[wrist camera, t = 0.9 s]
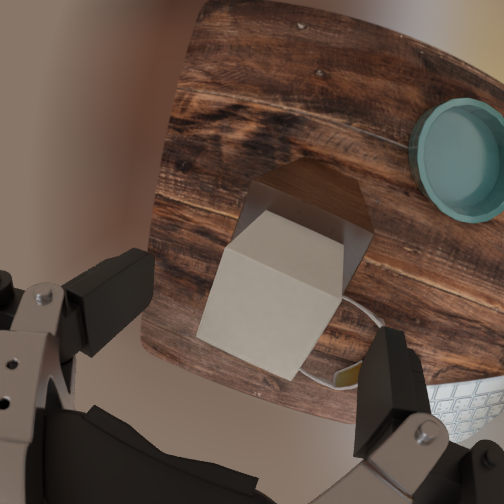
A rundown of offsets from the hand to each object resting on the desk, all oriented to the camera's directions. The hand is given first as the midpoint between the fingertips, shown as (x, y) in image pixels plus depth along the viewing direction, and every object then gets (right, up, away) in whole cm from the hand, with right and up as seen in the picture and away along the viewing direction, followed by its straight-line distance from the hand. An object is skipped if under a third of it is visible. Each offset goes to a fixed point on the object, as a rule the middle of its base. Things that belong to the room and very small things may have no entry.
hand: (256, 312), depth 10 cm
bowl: (+25, +13, +20) cm, 34 cm away
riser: (+8, +9, +27) cm, 29 cm away
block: (+2, +1, +7) cm, 7 cm away
